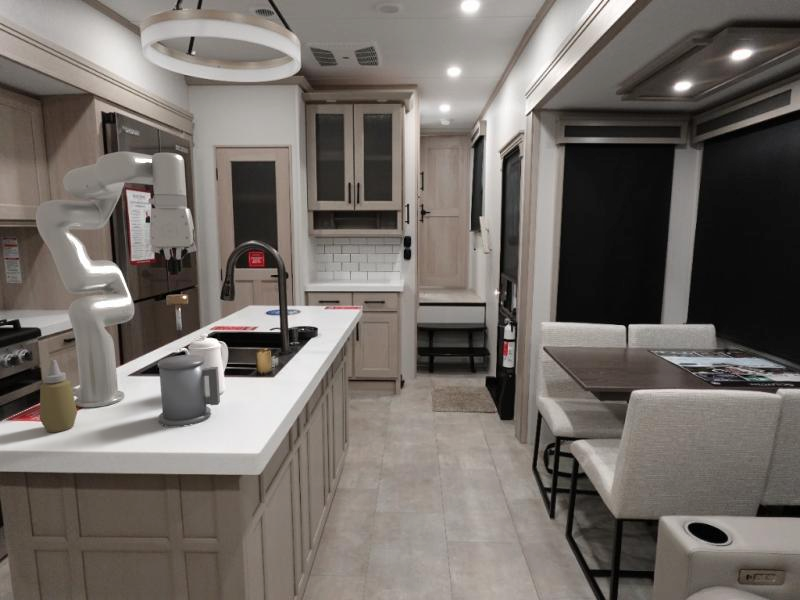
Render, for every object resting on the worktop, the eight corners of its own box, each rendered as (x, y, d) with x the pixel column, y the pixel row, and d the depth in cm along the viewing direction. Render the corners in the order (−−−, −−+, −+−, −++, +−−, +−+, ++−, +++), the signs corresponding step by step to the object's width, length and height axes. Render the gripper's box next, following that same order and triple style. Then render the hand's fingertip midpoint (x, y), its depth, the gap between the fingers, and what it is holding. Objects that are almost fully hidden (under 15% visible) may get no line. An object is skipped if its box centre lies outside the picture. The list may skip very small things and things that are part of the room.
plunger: (166, 332, 130) (163, 297, 128) (172, 328, 135) (169, 294, 133) (187, 331, 130) (184, 296, 129) (192, 327, 135) (190, 294, 134)
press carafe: (151, 428, 129) (147, 367, 126) (167, 410, 141) (163, 355, 139) (214, 424, 131) (211, 365, 129) (224, 407, 144) (221, 353, 141)
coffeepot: (164, 406, 145) (160, 342, 142) (213, 380, 169) (210, 326, 166) (198, 408, 143) (194, 344, 140) (242, 382, 167) (240, 327, 164)
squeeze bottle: (37, 436, 124) (29, 366, 121) (45, 425, 131) (38, 358, 128) (75, 431, 127) (68, 362, 124) (81, 420, 134) (75, 355, 132)
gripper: (134, 202, 123) (139, 276, 126) (198, 202, 125) (202, 275, 128) (144, 203, 131) (150, 273, 133) (205, 204, 133) (209, 272, 135)
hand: (175, 274), depth 130 cm, fingers closed
